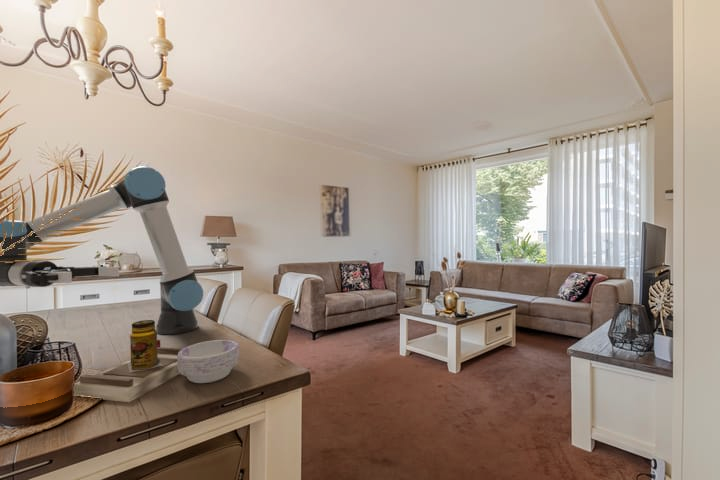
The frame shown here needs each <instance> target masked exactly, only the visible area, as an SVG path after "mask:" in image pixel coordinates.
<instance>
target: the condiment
mask: <svg viewBox="0 0 720 480" xmlns="http://www.w3.org/2000/svg"><path fill="white" fill-rule="evenodd" d="M155 324H156V322H155V320H154V319H144V320H139V321H135V322H133V323H131V333H130V335H129V336H130V337H129V338H130V347H129V348H130V360H131V363H127V364H128V368H129V372H130V373H131V372H136V371H142V370H146V369H150V368H154V367H158V366H163V365H162V364H161V362H160V360H159V357H157V340H158V333H157V331H156V325H155Z"/></svg>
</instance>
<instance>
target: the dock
mask: <svg viewBox="0 0 720 480" xmlns="http://www.w3.org/2000/svg"><path fill="white" fill-rule="evenodd" d="M182 349H183V348H181V347H180V348H176V347H162V346H160V347H157V357H159V360H160V362H161V364H162V365H163V366H158V367H154V368H150V369H146V370H142V371H136V372H131V373H130V372H129V368H128V364H127V363H131V359H130V360H127V361H125V362H122V363H120V364H118V365H115V366H112V367H110V368H108V369H105V370H102V371H101V372H98V373H95V374H93V375H92V374H83V375H80V376H79V381H77V382H74V383H73V384H74V395H84V396H91V397H100V398H102V399H103V400H104V401H113V402H125V403H130V402H132V401H134V400H135V399H138V398H140V397H142V396H144V395H145V394H147V393H148V392H150V391H151V390H153V389H156V388H157V387H159V386H161V385H163V384H164V383H166V382H168V381H170V380H171V379H173V378H175V377H177V376H178V375H181V374H180V373H179V372H178V362H177V360H178V358H177V354H178V352H179V351H180V350H182ZM102 399H101V400H102Z"/></svg>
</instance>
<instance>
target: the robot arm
mask: <svg viewBox="0 0 720 480" xmlns="http://www.w3.org/2000/svg"><path fill="white" fill-rule="evenodd" d="M84 200H85V201H84ZM169 203H170V200H169V197H168V194H167V191H166V181H165V178H164V176H163V174H161V173H160V171H159V170H156V169H155V168H152V167H150V166H138V167H134V168H132V169H130V170H128V172H126V174H125V176H124V178H123V179H122V180H120V181H119V182H116V183H114V184H112V185H110V187H109V189H108V190H105V191H102V192H100V193H97V194H95V195H93V196H90V197H86V198H85V199H82V200H79V201H77V202H75V203H72V204H69V205H67V206H65V207H61V208H60V209H59V208H58V209H57V210H54V211H52V214H51V212H49V213H46V214H44V215H42V216H39V217H37V218H34V219H31V220H29V221H26V222H25V221H24V220H14V227H13V226H12V220H8V219H6V220H5V219H4V220H3V219H2V220H3V222H2V223H1V224H0V243H1V242H2V241H3V238H4V233H5V230H6V231H7V235H6V238H5V241H4V244H3V246H2V249H6V248H7V247H9V246H10V245H11V244H13V243H15V242H17V241H19V240H21V238H22V237H25V236H27V235H28V234H29V233H30V232H31V231H34V230H36V229H38V228H39V227H40V226H41V224H46V223H48V222H49V220H50V219H54V218H57V217H58V216H59V214H62V213H65V212H66V211H68V210H70V209H72V208H74V207H75V206H77V207H75V208H76V209H74V210H72V211H71V212H69V213H68V214H65V215H62V216H61V218H60V219H57V220H54V221H53V222H52V223H51V224H49V225H46V226H44V227H43V228H42V229H41V230H40V231H36V232H35V233H33V234H32V236H29V237H26V238H25V239H24V240H23V242H20V243H16V244H15V246H14V247H15V248H12V249H9V250H7V251H5V252H4V255H2V256H0V261H15V260H27V261H28V255H18V254H28V253H27V251H28V249H30V248H32V247H34V246H36V245H37V244H34V243H26V242H39V243H38V244H40V243H42V242H45V241H47V240H49V239H52V238H53V237H35V236H46V235H57V236H59V235H61V234H63V233H65V232H64V231H46V230H69V231H71V230H72V229H75V228H78V227H80V226H83V225H85V224H87V223H90V222H92V221H94V220H96V219H99V218H101V217H104V216H106V215H108V214H111V213H113V212H115V211H117V210H120V209H124V210H128V209H129V208H132V210H135V211H136V212H138V213H139V214H140V217H141V219H142V222H143V225H144V228H145V230H146V232H147V235H148V239H149V241H150V244H151V246H152V250H153V252H154V255H155V256H156V257H155V258H156V260H157V262H158V266H159V267H160V270H161V273H162V275H161V276H160V279H159V285H160V288H159V289H160V314H159V318H158V320H157V323H156V325H155V330H156V331H157V335H159V334H161V335H176V334H183V333H187V332H190V331H193V330H196V329H197V328H198V327H199V324H198V319H197V316H196V315H195V311H194V309H195V308H197V307H198V306H199V305H200V303H201V302H202V301H203V299H204V289H203V286H202V285H201V284H200V283H199V281H198V279H197V276H196V274H195V271H194V269H192V268H190V267H188V264H187V261H186V258H185V256H184V253H183V250H182V247H181V244H180V242H179V239H178V236H177V233H176V231H175V227H174V224H173V222H172V219H171V215H170V214H169V211H168V207H167V206H168V204H169ZM76 204H77V205H76ZM80 204H81V205H80ZM43 216H44V220H43V221H42V218H43ZM73 218H81V219H82V220H69V219H73ZM32 220H34V221H33V225H32V227H31V223H32ZM23 222H24V226H23V232H22V225H23ZM12 231H13V236H12V239H11V234H12ZM18 248H28V249H18ZM29 261H30V262H13V263H5V262H0V287H25V289H30V288H31V287H34V288H35V287H37V288H38V287H39V288H46V287H49V286H51V285H53V284H54V283H58V284H59V283H65V284H67V283H68V284H71V283H73V279H75V278H76V277H77V278H78V277H94V276H95V277H96V276H97V277H120V267H119V266H105V265H104V264H100V266H90V267H89V266H86V267H85V266H84V267H83V266H81V267H77V266H76V267H75V266H62V265H61V266H57V265H56V264H55V263H54V262H52V261H49V260H29Z"/></svg>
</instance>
